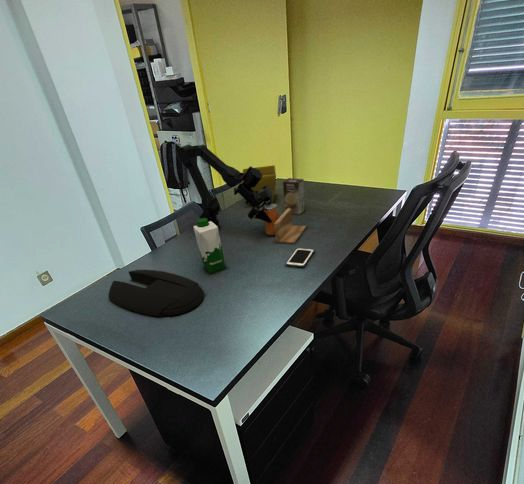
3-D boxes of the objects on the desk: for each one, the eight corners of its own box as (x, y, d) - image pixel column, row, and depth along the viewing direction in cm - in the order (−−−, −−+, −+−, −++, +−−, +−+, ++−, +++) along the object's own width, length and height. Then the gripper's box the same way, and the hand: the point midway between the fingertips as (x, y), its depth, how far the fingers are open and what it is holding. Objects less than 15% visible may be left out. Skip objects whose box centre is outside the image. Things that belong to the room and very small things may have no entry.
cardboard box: (278, 205, 188) (275, 173, 177) (245, 209, 189) (240, 178, 179) (277, 194, 202) (275, 165, 192) (247, 198, 204) (242, 168, 193)
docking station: (174, 326, 110) (169, 314, 107) (99, 300, 129) (94, 289, 126) (219, 289, 125) (216, 277, 122) (146, 270, 144) (142, 260, 141)
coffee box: (284, 213, 178) (282, 181, 167) (289, 208, 182) (288, 177, 171) (299, 214, 173) (298, 182, 163) (304, 210, 177) (304, 178, 167)
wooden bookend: (275, 242, 151) (274, 223, 145) (288, 226, 163) (287, 208, 157) (294, 243, 148) (293, 224, 142) (306, 227, 160) (305, 208, 154)
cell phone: (285, 266, 133) (285, 263, 132) (297, 249, 143) (297, 247, 142) (303, 268, 130) (303, 265, 129) (314, 251, 140) (314, 249, 139)
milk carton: (220, 260, 143) (210, 215, 130) (228, 268, 137) (219, 221, 124) (201, 267, 141) (189, 221, 128) (209, 275, 134) (197, 228, 121)
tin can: (264, 235, 157) (261, 209, 149) (267, 229, 162) (264, 203, 154) (277, 235, 155) (275, 208, 147) (280, 229, 160) (278, 203, 152)
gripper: (250, 188, 139) (277, 215, 142) (267, 175, 151) (291, 200, 154) (237, 206, 146) (262, 231, 150) (253, 192, 159) (276, 216, 162)
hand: (273, 219), depth 154 cm, fingers closed on tin can, 6 cm apart
